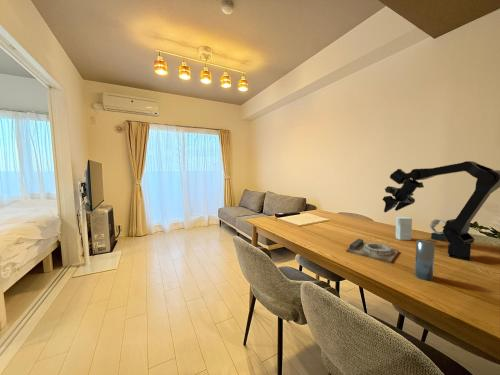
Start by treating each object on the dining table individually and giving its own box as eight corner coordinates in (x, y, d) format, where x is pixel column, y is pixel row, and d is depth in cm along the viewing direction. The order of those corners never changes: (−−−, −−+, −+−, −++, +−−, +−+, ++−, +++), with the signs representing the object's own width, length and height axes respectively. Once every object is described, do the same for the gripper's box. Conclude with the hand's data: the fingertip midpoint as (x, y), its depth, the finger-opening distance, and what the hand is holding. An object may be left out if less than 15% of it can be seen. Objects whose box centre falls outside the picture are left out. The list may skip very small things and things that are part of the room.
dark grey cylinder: (433, 276, 74) (435, 241, 73) (432, 282, 71) (434, 245, 70) (415, 272, 78) (417, 238, 77) (413, 277, 74) (415, 242, 73)
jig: (398, 251, 97) (399, 245, 97) (390, 263, 86) (391, 256, 85) (357, 242, 110) (357, 237, 109) (346, 251, 98) (346, 245, 98)
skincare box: (406, 237, 116) (407, 216, 115) (411, 240, 112) (412, 218, 111) (395, 237, 117) (395, 216, 116) (399, 240, 112) (400, 218, 111)
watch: (433, 236, 117) (434, 217, 116) (451, 240, 110) (452, 220, 109) (427, 237, 115) (428, 218, 115) (444, 242, 108) (445, 221, 107)
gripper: (405, 180, 118) (389, 200, 127) (382, 181, 111) (368, 203, 120) (423, 192, 110) (405, 213, 119) (400, 194, 103) (383, 216, 112)
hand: (390, 211), depth 117 cm, fingers open, 9 cm apart
